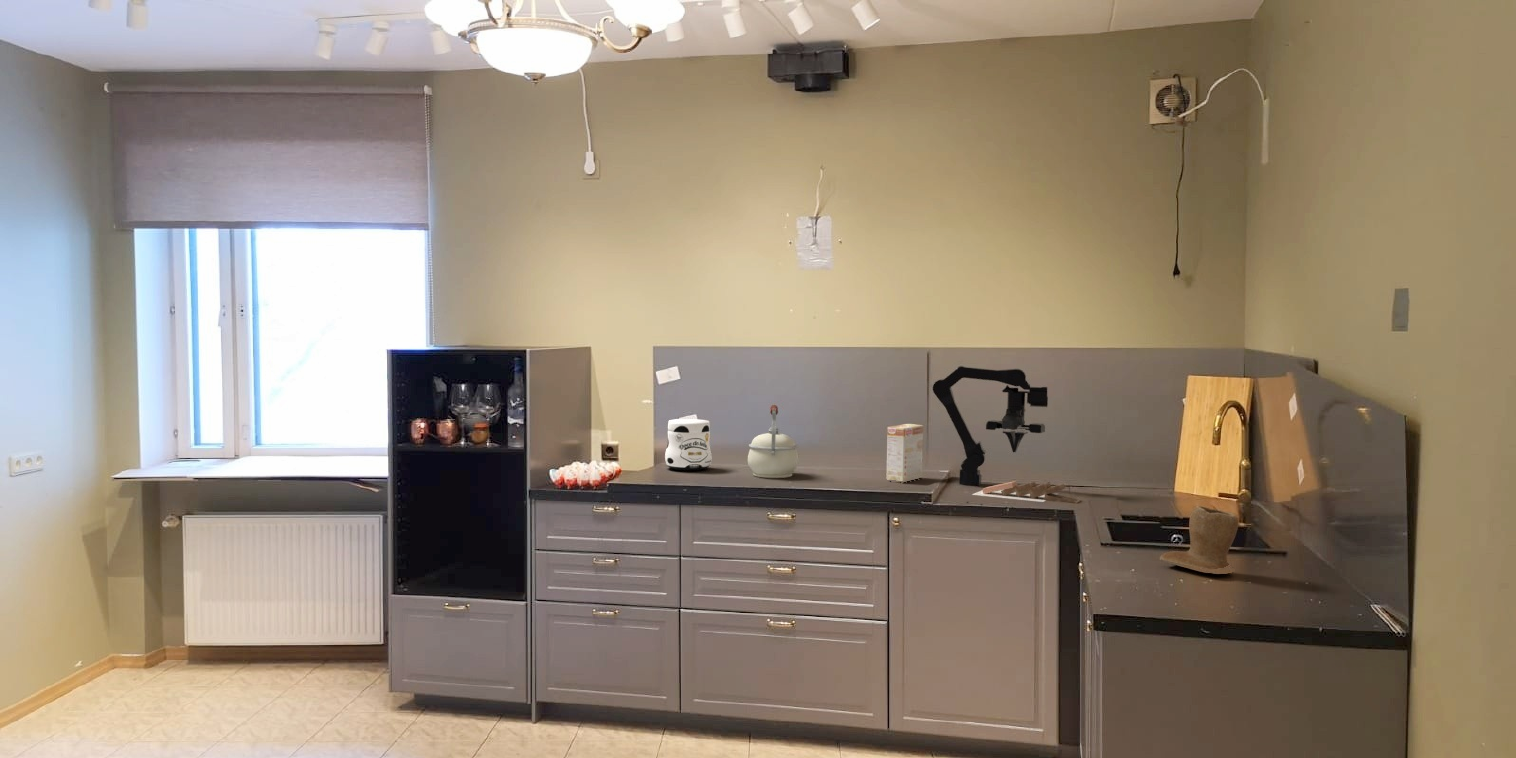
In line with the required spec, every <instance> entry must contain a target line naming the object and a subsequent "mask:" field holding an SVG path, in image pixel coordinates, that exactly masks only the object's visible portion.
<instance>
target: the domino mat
mask: <svg viewBox="0 0 1516 758" xmlns="http://www.w3.org/2000/svg"><path fill="white" fill-rule="evenodd" d="M1001 491H1002V490H1000V491H995V492H990V493H986V494H983V490H982V489H981V490H980V491H977V492H975V493H972V494H971V495H973V496H982V497H990V498H1000V499H1002V498H1003V499H1010V500H1019V501H1020V500H1021V501H1029V502H1030V501H1031V502H1039V503H1044V502H1046V501H1047V500H1044V497H1045V495H1042V496H1039V497H1035V498H1032V499H1031V497H1030V494H1027V495H1024V496H1020V497H1017V495H1016V492H1015V493H1011V494H1008V495H1004V496H1002V493H1001ZM1056 494H1057V495H1059V494H1058V493H1056Z"/></svg>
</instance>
